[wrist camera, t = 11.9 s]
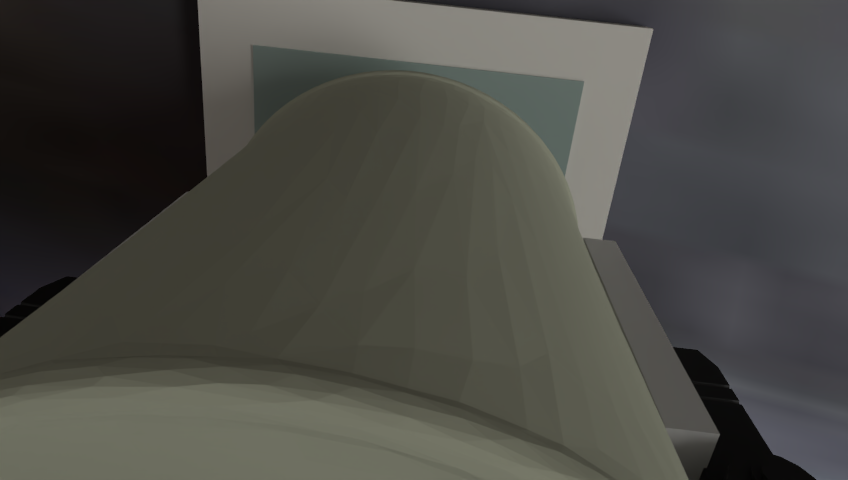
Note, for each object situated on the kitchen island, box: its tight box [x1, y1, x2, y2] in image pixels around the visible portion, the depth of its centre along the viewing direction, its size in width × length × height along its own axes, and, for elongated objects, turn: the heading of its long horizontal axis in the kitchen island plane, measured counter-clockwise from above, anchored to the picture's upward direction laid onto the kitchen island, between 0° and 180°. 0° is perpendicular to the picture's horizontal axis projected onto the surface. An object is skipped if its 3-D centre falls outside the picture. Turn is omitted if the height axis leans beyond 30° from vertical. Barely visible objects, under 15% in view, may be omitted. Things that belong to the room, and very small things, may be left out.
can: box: [0, 70, 689, 480], centre depth 10 cm, size 9×9×12 cm
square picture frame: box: [198, 0, 653, 240], centre depth 18 cm, size 12×12×1 cm
